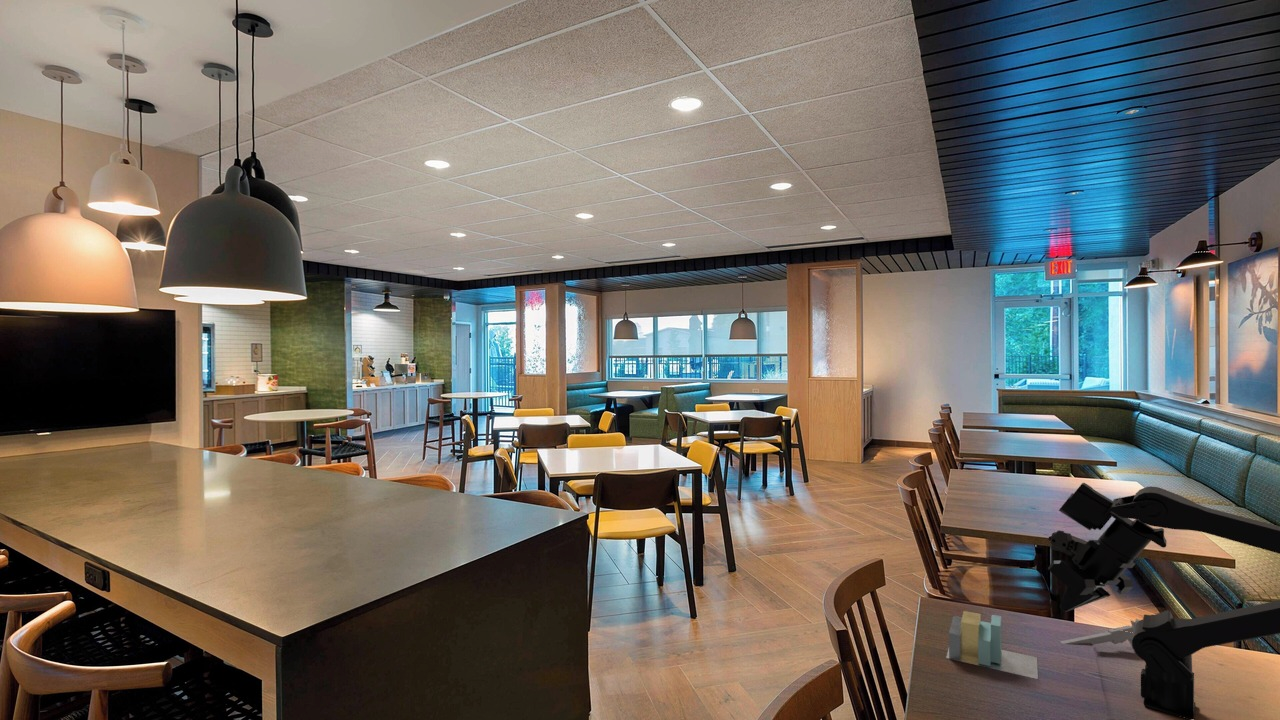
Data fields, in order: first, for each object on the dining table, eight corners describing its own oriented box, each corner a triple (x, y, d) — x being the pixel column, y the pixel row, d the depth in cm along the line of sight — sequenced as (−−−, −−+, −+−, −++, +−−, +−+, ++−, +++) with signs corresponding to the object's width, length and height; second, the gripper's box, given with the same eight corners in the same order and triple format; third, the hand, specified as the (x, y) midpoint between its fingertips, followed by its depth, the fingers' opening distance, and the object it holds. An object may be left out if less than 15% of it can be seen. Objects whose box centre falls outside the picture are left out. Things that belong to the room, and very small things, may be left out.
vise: (1037, 665, 118) (1036, 632, 118) (1037, 687, 111) (1037, 651, 111) (951, 646, 126) (950, 615, 126) (946, 665, 119) (945, 632, 119)
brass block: (980, 648, 122) (980, 614, 122) (978, 661, 117) (978, 625, 117) (964, 644, 124) (963, 610, 124) (961, 657, 119) (960, 622, 119)
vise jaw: (1001, 648, 121) (1001, 612, 121) (1000, 668, 114) (999, 630, 114) (981, 643, 123) (980, 608, 123) (978, 663, 116) (977, 626, 116)
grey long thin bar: (1143, 648, 125) (1143, 618, 125) (1147, 651, 124) (1147, 620, 123) (1043, 650, 125) (1043, 619, 125) (1047, 652, 124) (1047, 622, 123)
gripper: (1099, 518, 119) (1050, 576, 125) (1049, 513, 110) (999, 576, 116) (1158, 561, 111) (1102, 621, 116) (1109, 559, 101) (1051, 625, 107)
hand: (1062, 609), depth 114 cm, fingers closed
